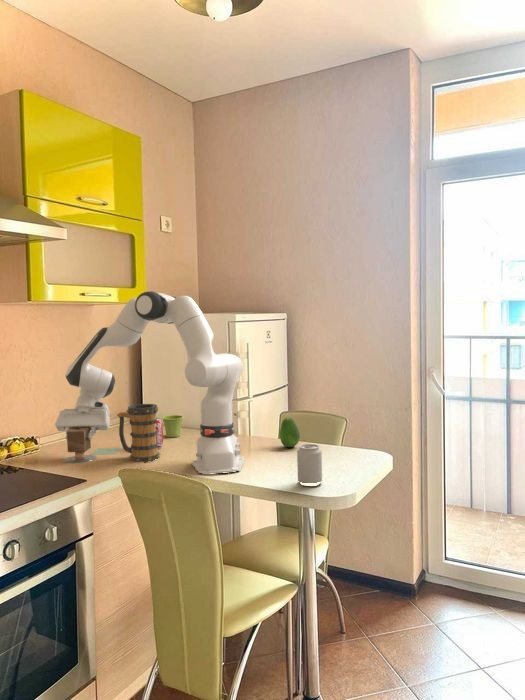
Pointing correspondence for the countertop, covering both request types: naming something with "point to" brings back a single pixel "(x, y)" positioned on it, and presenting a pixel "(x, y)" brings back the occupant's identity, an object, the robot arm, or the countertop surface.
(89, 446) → the cover box
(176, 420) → the plant pot
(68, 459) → the slate board
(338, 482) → the countertop surface
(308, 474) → the can
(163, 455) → the countertop surface
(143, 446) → the mug
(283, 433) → the avocado
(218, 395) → the robot arm
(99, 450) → the mat
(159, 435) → the soda can
